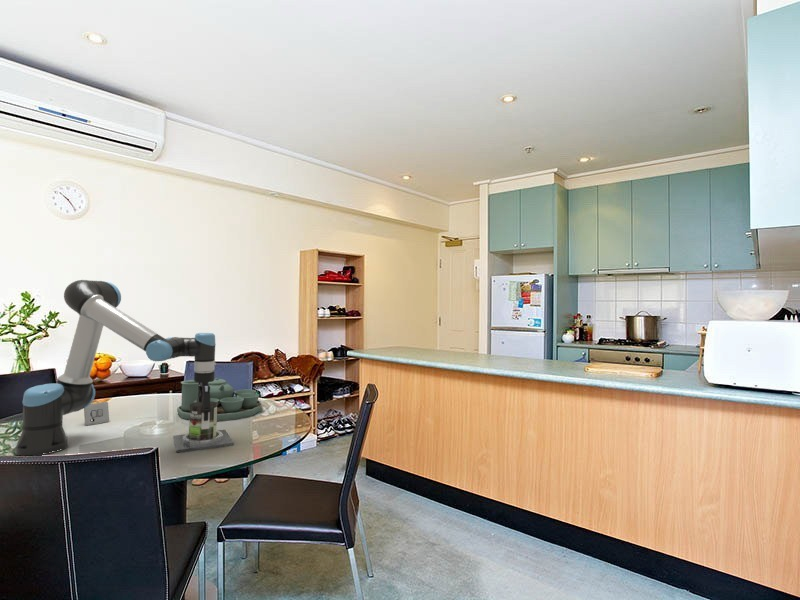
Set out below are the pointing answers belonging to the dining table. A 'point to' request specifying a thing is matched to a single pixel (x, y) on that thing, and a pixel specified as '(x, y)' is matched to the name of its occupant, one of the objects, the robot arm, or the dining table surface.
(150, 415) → the dining table surface
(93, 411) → the electrical switch
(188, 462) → the dining table surface
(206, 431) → the coffee can
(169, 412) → the dining table surface
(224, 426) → the dining table surface
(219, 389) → the tea set
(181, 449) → the flange base
